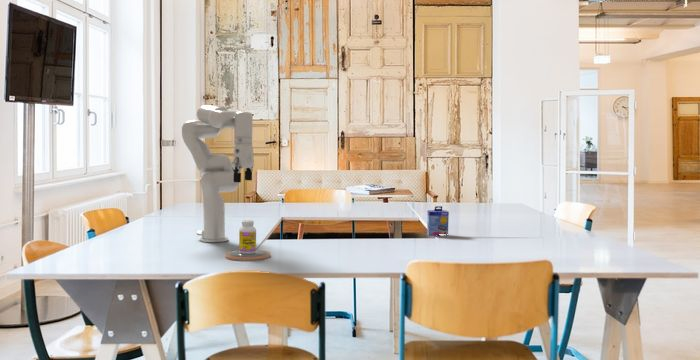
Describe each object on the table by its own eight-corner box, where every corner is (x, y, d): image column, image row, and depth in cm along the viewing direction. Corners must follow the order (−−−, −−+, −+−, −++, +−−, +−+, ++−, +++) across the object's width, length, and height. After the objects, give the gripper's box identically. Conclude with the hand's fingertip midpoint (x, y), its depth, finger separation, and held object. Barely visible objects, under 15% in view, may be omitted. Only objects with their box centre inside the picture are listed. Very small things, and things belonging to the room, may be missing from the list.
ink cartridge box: (428, 236, 310) (428, 206, 309) (426, 234, 316) (426, 205, 315) (448, 236, 311) (449, 206, 310) (446, 234, 316) (446, 205, 315)
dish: (216, 259, 252) (216, 255, 252) (238, 251, 269) (238, 248, 269) (258, 262, 246) (258, 258, 246) (277, 253, 263) (277, 250, 263)
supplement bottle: (240, 254, 254) (239, 222, 253) (238, 251, 260) (238, 220, 259) (257, 254, 255) (257, 221, 254) (255, 251, 262) (255, 219, 261)
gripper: (241, 142, 264) (240, 183, 266) (260, 140, 280) (260, 180, 282) (225, 141, 267) (224, 182, 268) (245, 140, 283) (244, 179, 284)
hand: (242, 181), depth 275 cm, fingers open, 9 cm apart
